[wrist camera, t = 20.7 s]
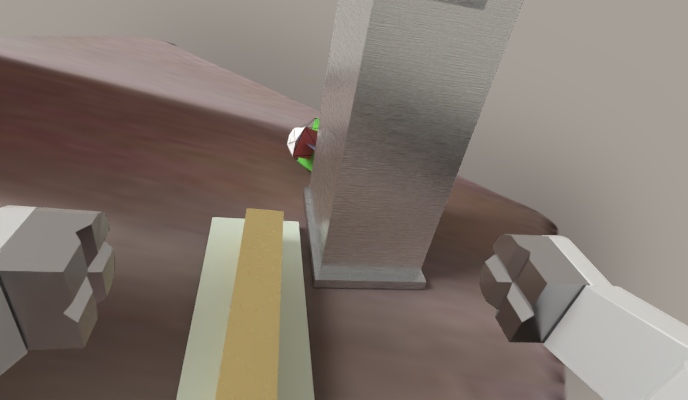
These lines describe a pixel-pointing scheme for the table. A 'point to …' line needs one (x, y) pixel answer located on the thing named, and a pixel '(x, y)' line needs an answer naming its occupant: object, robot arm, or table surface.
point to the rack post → (396, 132)
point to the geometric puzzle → (304, 144)
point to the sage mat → (215, 308)
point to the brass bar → (254, 312)
